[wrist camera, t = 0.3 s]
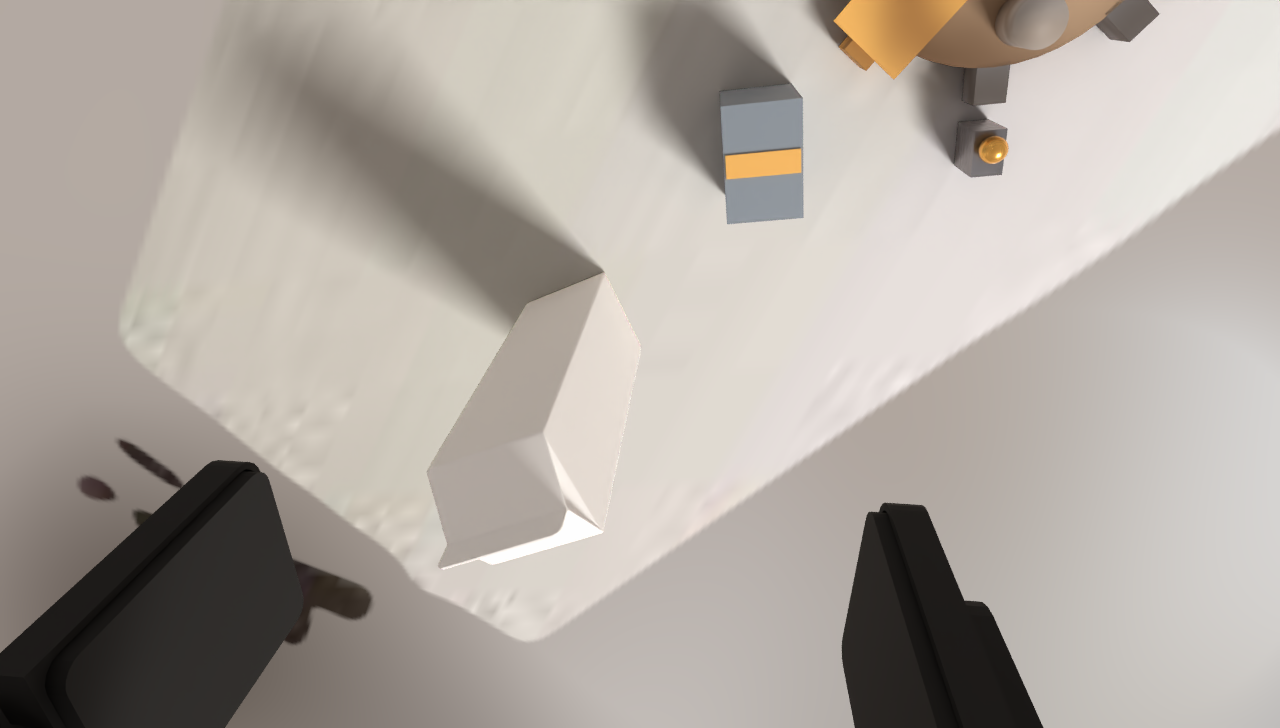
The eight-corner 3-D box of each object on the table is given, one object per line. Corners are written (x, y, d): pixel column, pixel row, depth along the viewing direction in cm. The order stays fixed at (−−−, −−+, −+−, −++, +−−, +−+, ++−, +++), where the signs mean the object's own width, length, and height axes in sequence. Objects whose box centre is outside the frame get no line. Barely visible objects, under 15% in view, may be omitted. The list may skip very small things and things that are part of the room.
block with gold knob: (957, 122, 40) (983, 136, 36) (988, 119, 39) (1016, 133, 36) (954, 165, 41) (978, 183, 37) (983, 162, 40) (1010, 180, 37)
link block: (719, 91, 40) (720, 106, 35) (790, 83, 40) (802, 98, 34) (725, 195, 43) (727, 224, 37) (792, 189, 42) (803, 218, 37)
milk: (642, 345, 48) (597, 588, 29) (565, 374, 50) (473, 621, 31) (604, 268, 46) (526, 477, 26) (524, 301, 47) (396, 520, 28)
